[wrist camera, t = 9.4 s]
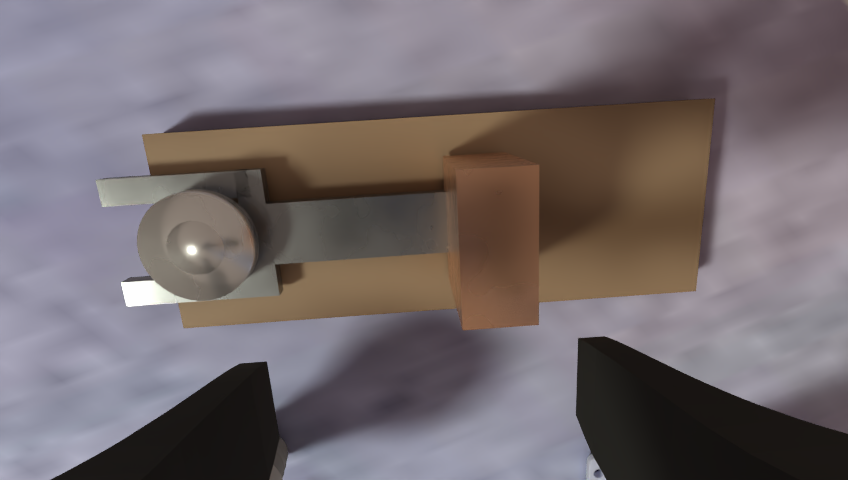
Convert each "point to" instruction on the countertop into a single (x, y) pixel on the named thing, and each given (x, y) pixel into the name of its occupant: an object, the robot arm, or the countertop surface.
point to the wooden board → (423, 171)
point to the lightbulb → (279, 461)
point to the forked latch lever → (382, 231)
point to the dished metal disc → (198, 244)
